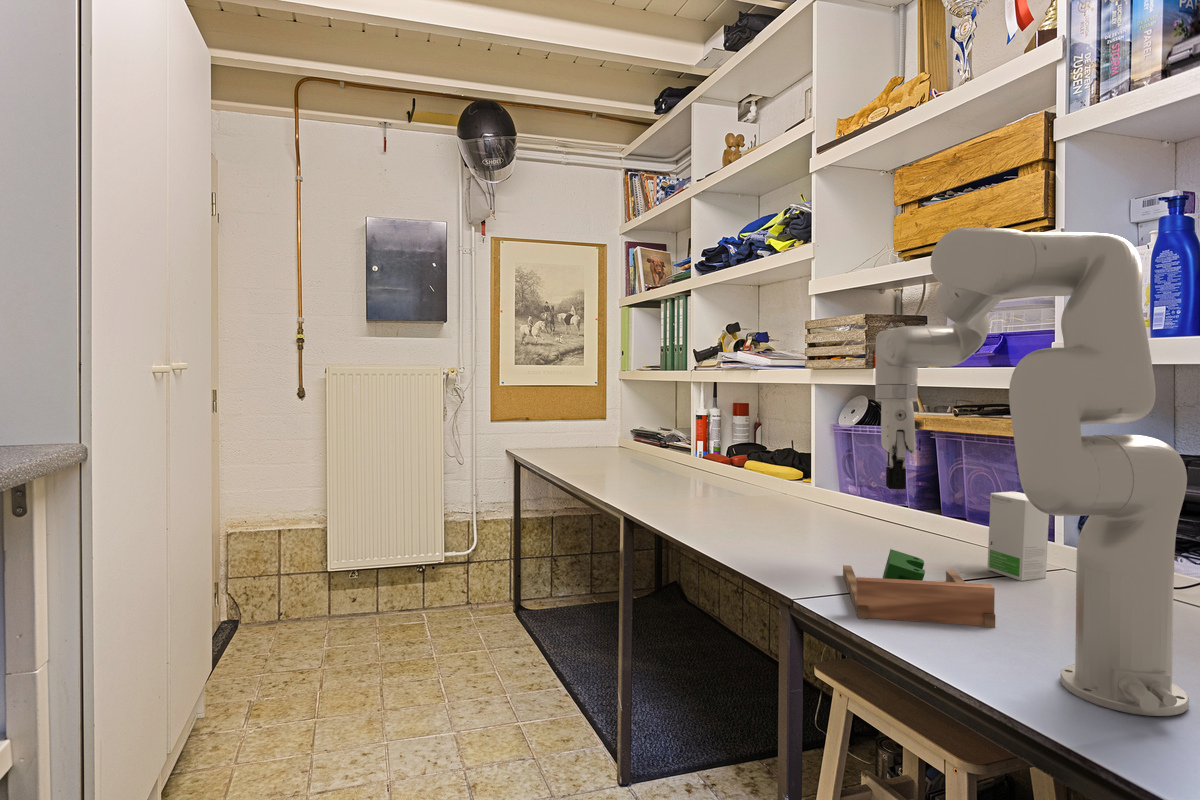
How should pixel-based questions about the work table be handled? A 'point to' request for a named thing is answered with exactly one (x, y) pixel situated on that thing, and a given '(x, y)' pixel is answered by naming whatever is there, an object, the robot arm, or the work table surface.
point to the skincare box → (1017, 537)
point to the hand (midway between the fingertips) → (895, 487)
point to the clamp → (903, 567)
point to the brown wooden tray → (922, 599)
